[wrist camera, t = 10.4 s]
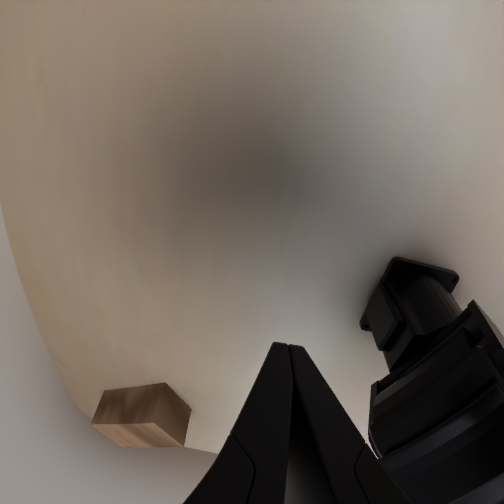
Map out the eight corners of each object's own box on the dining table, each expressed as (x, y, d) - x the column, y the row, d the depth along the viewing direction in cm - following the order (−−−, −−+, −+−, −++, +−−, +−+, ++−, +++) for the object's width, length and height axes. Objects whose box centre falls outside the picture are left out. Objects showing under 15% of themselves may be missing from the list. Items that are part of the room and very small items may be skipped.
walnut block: (153, 422, 24) (90, 424, 26) (183, 446, 26) (120, 446, 28) (165, 381, 28) (104, 389, 31) (191, 407, 31) (130, 413, 33)
